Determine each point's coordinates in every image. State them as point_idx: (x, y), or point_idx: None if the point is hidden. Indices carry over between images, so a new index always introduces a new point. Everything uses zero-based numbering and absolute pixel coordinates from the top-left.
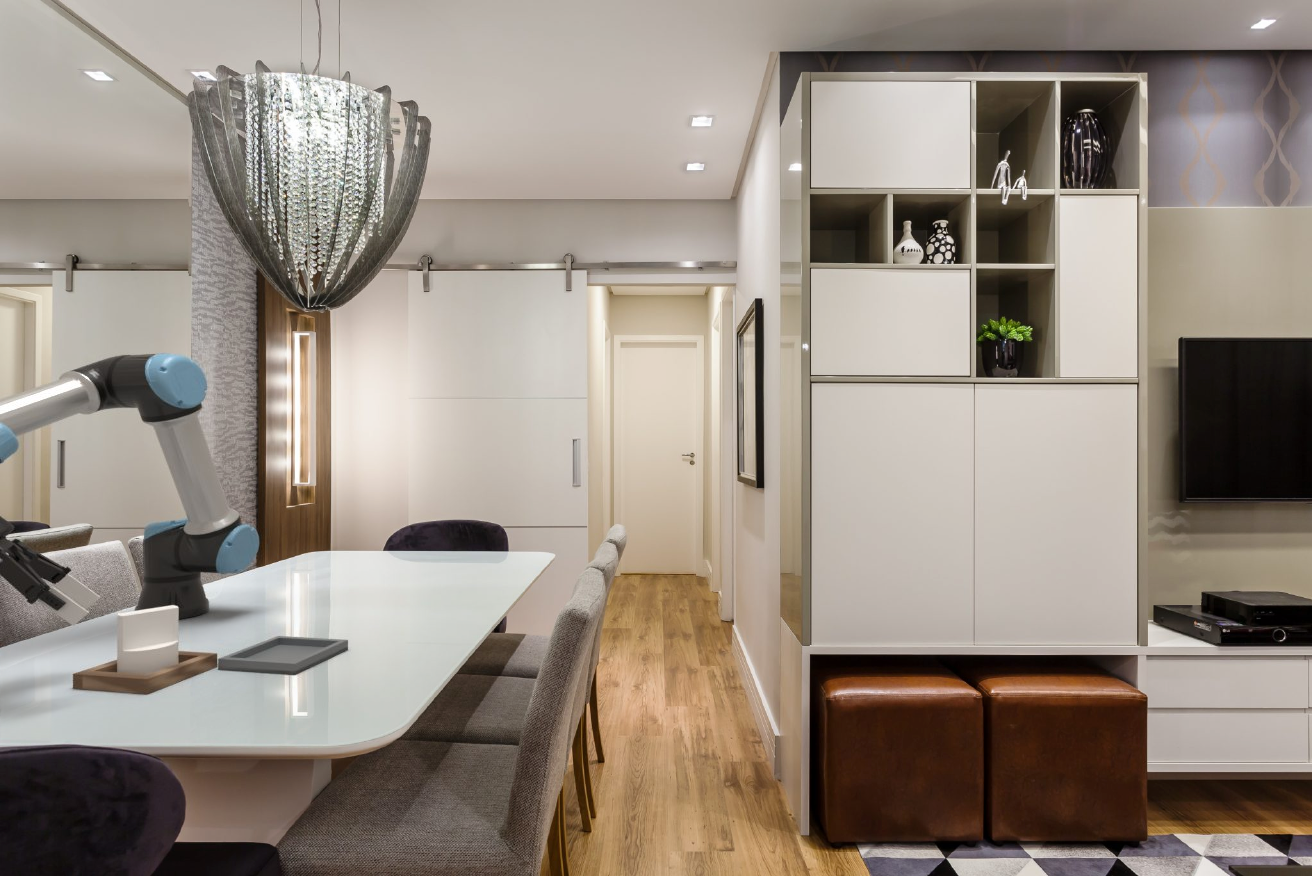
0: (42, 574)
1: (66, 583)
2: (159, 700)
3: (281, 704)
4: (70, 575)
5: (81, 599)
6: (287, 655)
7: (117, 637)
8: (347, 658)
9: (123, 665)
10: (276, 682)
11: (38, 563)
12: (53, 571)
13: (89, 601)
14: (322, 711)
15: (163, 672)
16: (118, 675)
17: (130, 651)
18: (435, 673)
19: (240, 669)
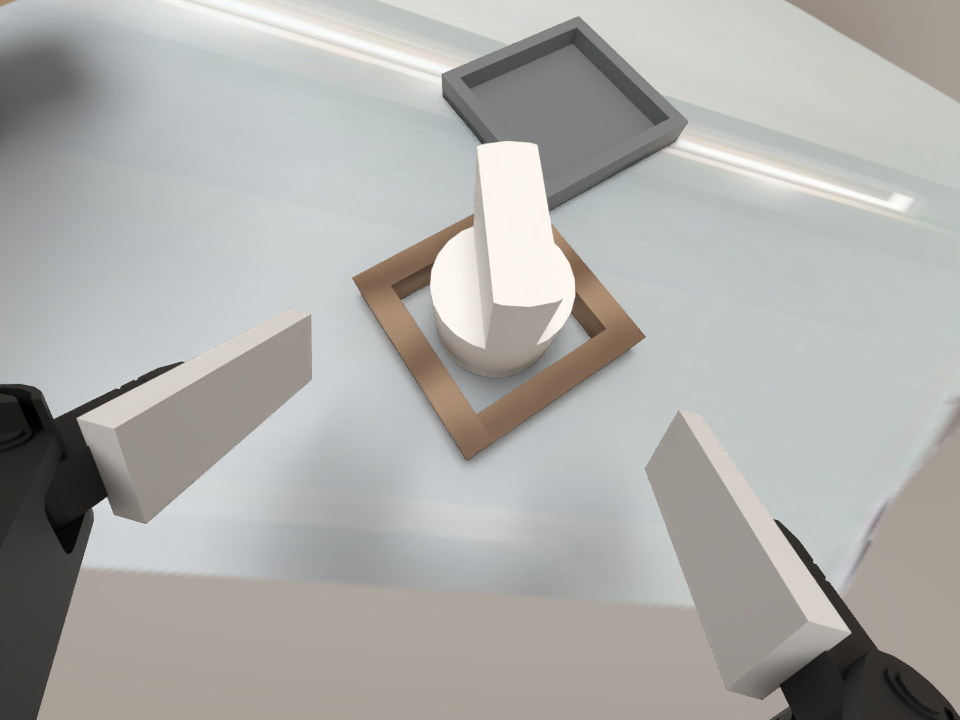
0: (36, 668)
1: (177, 443)
2: (689, 340)
3: (836, 206)
4: (109, 406)
5: (281, 386)
6: (557, 109)
7: (497, 339)
8: (629, 59)
9: (530, 357)
10: (703, 174)
11: None
12: (29, 556)
13: (301, 358)
14: (904, 178)
15: (610, 301)
16: (567, 377)
17: (556, 332)
18: (801, 21)
19: (585, 189)
